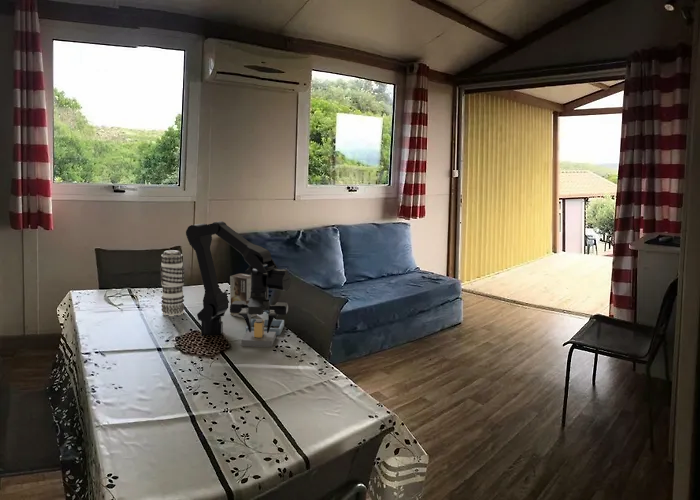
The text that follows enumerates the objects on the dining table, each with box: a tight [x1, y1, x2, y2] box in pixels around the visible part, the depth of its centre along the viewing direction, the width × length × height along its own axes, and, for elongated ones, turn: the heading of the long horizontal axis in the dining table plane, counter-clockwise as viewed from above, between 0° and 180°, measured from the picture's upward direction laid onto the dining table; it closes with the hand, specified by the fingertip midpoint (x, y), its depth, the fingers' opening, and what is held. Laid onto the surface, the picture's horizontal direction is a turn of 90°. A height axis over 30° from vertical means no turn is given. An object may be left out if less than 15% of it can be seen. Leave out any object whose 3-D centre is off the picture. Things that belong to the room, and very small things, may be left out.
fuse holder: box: [240, 331, 277, 348], centre depth 182 cm, size 10×10×3 cm
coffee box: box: [229, 273, 258, 319], centre depth 214 cm, size 9×6×16 cm
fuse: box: [253, 318, 265, 338], centre depth 182 cm, size 3×4×7 cm, turn 0°
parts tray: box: [245, 318, 285, 336], centre depth 195 cm, size 12×11×3 cm
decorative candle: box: [159, 249, 185, 317], centre depth 212 cm, size 9×9×25 cm
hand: (259, 332), depth 182 cm, fingers open, 6 cm apart
